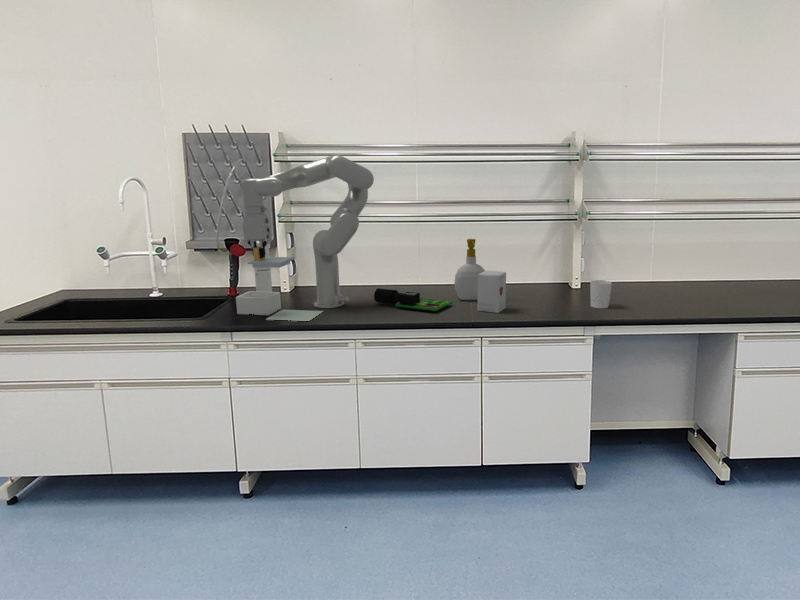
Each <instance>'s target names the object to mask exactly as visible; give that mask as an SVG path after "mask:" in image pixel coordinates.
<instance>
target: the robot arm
mask: <svg viewBox="0 0 800 600" xmlns="http://www.w3.org/2000/svg"><path fill="white" fill-rule="evenodd" d="M334 178H337V179H339V180H342V181H343V182H345V183H346V184H347V187H348V192H347V195H346V196H345V198H344V200H343V202H342V203H341V204H340V205H339V207H338V208H337V209H336V210H335V211H334V213H333V214H332V216H331V218H330V220H329V224H330V227H328V229H323V230H319V231H318V232H316V233H315V234H314V236H313V237H312V238H313V239H312V249H313V253H314V263H315V265H314V267H315V279H316V280H315V282H316V297H317V300H316V301H315V302H313V304H314V305H313V306H314V307H315V308H318V309H334V308H339V307H342V306H344V304H345V303H349V302H350V297H348V296H344V295H343V293H341V292H340V291H341V290H340V274H339V259H338V258H339V257H338V255H339V254H340V253H341V252H342V251H343V250H344V249H345V247H346V246H347V244H348V243H349V242H350V241H351V240H352V238H353V237H354V235H355V234H356V233H357V231H358V228H359V225H360V220H359V216H360V214H361V212H362V211H363V210H364V209H365V207H366V205H367V202H368V197H369V192H368V190H369V189H370V188H371V187H372V186H373V185H374V179H375V177H374V174H373V172H372V171H371V170H370V169H368V168H367V167H364V166H363V165H360V164H358V163H356V162H355V161H352V160H350V159H348V158H347V157H345V156H342V155H339V154H337V155H330V156H329V155H328V156H325V157H323V158H320V159H317V160H314V161H311V162H307V163H305V164H301V165H298V166H295V167H293V168H290V169H287V170H285V171H282V172H279V173H275V174H271V175H268V176H266V177H265V176H264V178H263V177H262V178H255V177H253V178H252V177H251V178H244V179H242V180H241V192H242V200H243V208H244V209H243V211H244V215H243V216H242V217H243V219H242V231H243V233H242V234H243V243H246V244H248V245H249V246H250V248H251V249H252V250H253V248H255V247H257V241H259V244H260V248H259V254H260V258H264V257H265V247H266V245H267V244H268V243H272V242H273V239H272V228H271V224H270V219H269V216H268V214H267V213H266V212H267V211H268V208H267V207H265V201H264V197H273V198H274V197H277V196H279V195H281V194H282V193H283V192H286V191H290V190H294V189H297V188H298V189H299V188H306V187H311V186H313V185H317V184H319V183H322V182H325V181H329V180H332V179H334ZM252 255H253V256H254V253H253V252H252Z"/></svg>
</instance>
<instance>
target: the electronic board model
mask: <svg viewBox="0 0 800 600" xmlns="http://www.w3.org/2000/svg"><path fill="white" fill-rule="evenodd" d="M420 295H421V293H420V292H413V291H405V292H399V291H398V290H396V289H392V288H381V287H378V288H376V289H375V291H374V293H373V298H374V299H373V300H374V301H375V303H380V304H387V305H394V306H395V307H398V308H402V309H403V310H407V309H409V310H408V311H414V310H416V309H417V310H423V311H431V312H437V311H439V310H441V309H444V308H445V307H448V306H450V305H452V304H453V303H454V302H453V301H449V300H440V299H430V298H424V297H423V298H421V296H420ZM402 309H401V310H402Z"/></svg>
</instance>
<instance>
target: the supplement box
mask: <svg viewBox="0 0 800 600" xmlns="http://www.w3.org/2000/svg"><path fill="white" fill-rule="evenodd" d="M506 289H507V271H502V270H501V271H498V270H497V271H496V270H485V271H484V272H481V273H480V274H478V300H477V302H476V303H477V307H476V308H477V309H476V310H477V311H478V312H485V313H494V314H499V313H500V312H502V311H504V310H505V309H506V298H507V296H506V295H507V290H506Z"/></svg>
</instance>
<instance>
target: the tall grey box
mask: <svg viewBox="0 0 800 600" xmlns="http://www.w3.org/2000/svg"><path fill="white" fill-rule="evenodd" d="M256 241H257V247H258V246H260V244H259V240H256ZM269 243H270V242H269ZM269 243H268V244H267V245H266V247H265V257H271V256H270V245H269ZM252 259H253V260H254V256H253V258H252ZM253 269H254V279H255V280H254V281H255V289H256V290H255V291H258V292H273V285H272V284H273V282H272V272H271V271H272V270H271V269H272V268H271V267H253Z"/></svg>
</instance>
